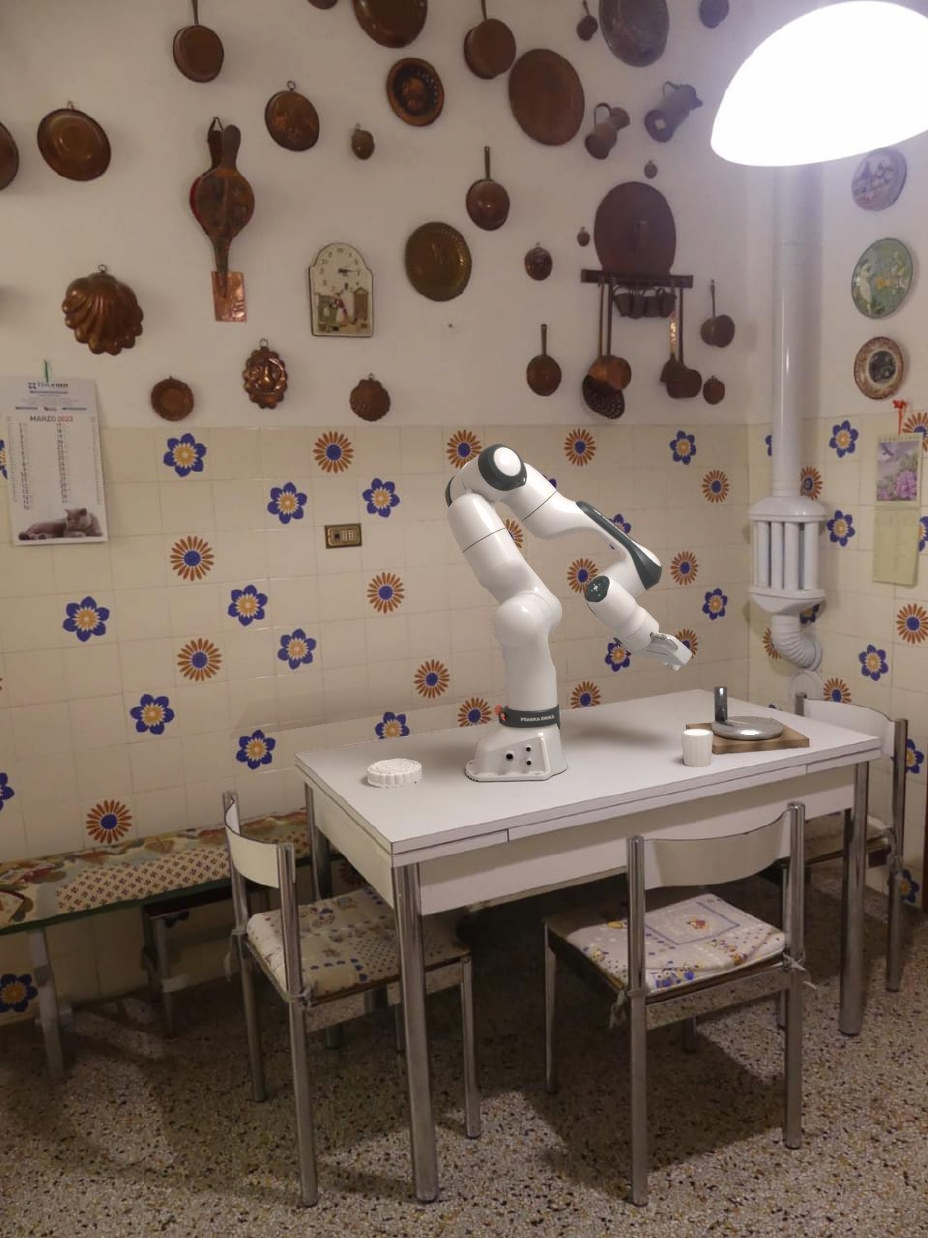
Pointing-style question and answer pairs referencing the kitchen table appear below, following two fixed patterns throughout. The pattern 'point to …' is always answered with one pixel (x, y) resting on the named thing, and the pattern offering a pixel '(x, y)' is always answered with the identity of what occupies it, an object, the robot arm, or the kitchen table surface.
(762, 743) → the dial board
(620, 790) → the kitchen table surface
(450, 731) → the kitchen table surface
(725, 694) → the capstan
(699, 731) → the white fluted cup
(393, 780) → the mooncake
